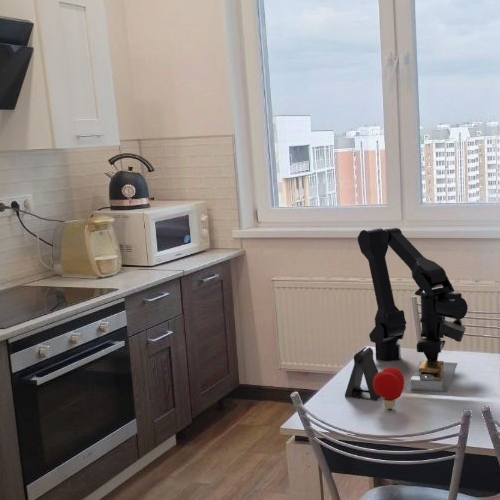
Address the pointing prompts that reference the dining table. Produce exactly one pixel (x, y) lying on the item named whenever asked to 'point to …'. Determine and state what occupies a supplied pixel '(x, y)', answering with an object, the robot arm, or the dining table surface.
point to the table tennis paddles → (389, 386)
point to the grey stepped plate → (432, 380)
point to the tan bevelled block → (432, 367)
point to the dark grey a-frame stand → (366, 366)
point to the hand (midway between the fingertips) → (433, 368)
